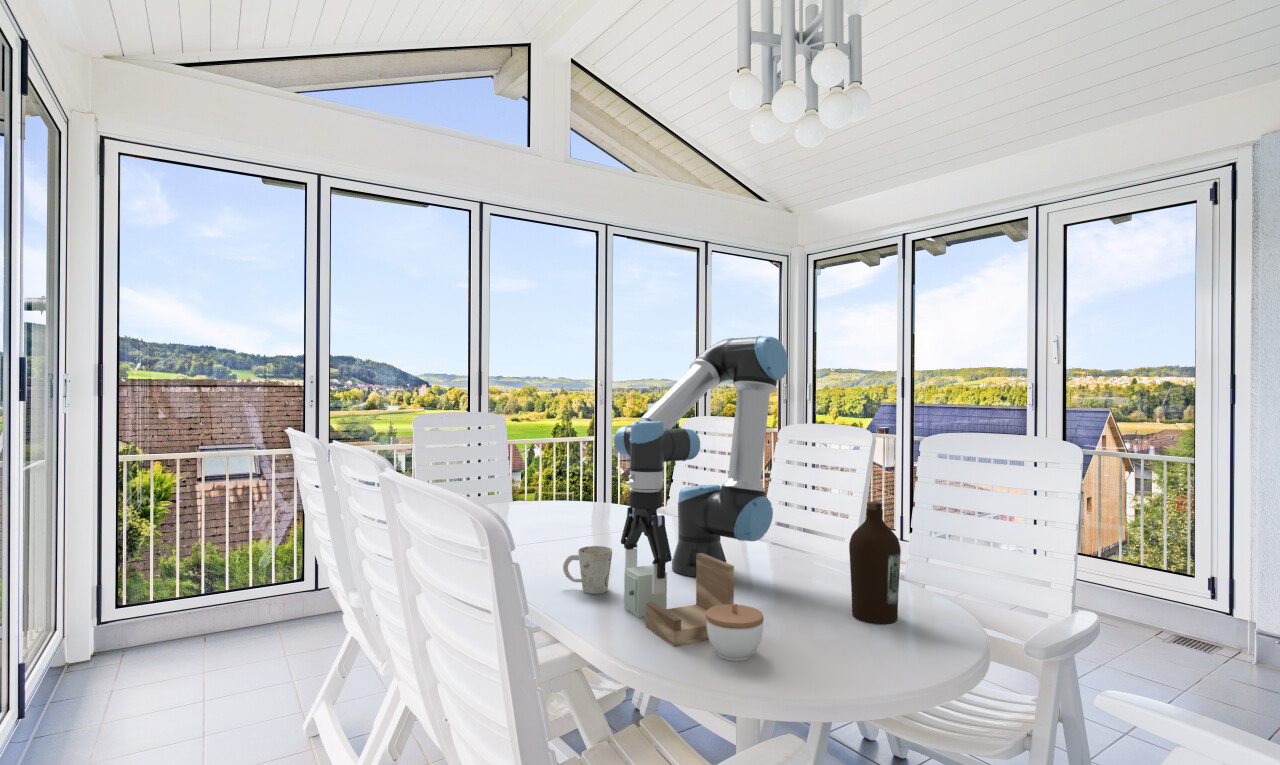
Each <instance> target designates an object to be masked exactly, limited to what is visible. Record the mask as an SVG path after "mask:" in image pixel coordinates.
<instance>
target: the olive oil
mask: <svg viewBox="0 0 1280 765" xmlns="http://www.w3.org/2000/svg"><path fill="white" fill-rule="evenodd" d="M866 506H867V507H866V519H865V521H863V523H861V525H860V526H858V528H857V529H856V530H854V531H853V532H852V534H851V536H850V539H849V543H848V544H849V546H848V549H849V551H848V552H849V567H850V571H849V572H850V590H851V591H850V592H851V615H852V617H854V619H856V620H857V621H861V622H863V623H866V624H875V625H891V624H894V623H896V622H897V621H898V618H899V617H898V615H899V612H898V611H899V610H898V609H899V592H900V591H899V590H900V589H899V588H900V572H901V571H900V570H901V568H900V566H901V554H902V552H901V545H900V541H899V539H898V536H897V535H896V534H895V533H894V531H893V530H892V529H891V528H890V527H889V526H888V525H887V524H886V522H884V520H883V519H884V518H883V516H884V514H883V513H884V511H883V510H884V509H883V503H882V502H878V501H868V502H867V503H866Z"/></svg>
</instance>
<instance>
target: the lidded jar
mask: <svg viewBox="0 0 1280 765" xmlns="http://www.w3.org/2000/svg"><path fill="white" fill-rule="evenodd" d="M763 627H764V614H763V612H762V611H760V609H757V608H755V607H752V606H750V605H749V606H748V605H742V604H737V603H734V604H724V605H717V606H713V607H711V608H709V609H708V610H707V611H706V628H707V635H708V639H709V640H708V642H709V644H710V646H711V647H712V649H713V650H714V651H715V652H716V653H717V656H718V657H719V658H721V659H722V660H726V661H732V662H742V661H746V660H748V659H750V658H751V656H752V655H753V654H754V653H755V652H756V651H757V650H758V648H759V647H760V644H761V641H762V637H763Z"/></svg>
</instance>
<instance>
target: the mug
mask: <svg viewBox="0 0 1280 765" xmlns="http://www.w3.org/2000/svg"><path fill="white" fill-rule="evenodd" d="M577 553H578V554H572V555H569V556H567V557H566V559H565V560H564V562H563V565H562V570H563V573H564V575H565V577H566V578H567V579H568V580H569V581H571V582H573V583H581V585H582V586H581V588H582V591H583V592H584V593H585V594H589V595H590V594H591V595H601V594H603V593H607V592H608V587H609V582H610V580H609V579H610V572H611V564H612V558H613V557H612V556H613V549H612V548H611V547H608V546H603V545H592V546H591V545H590V546H583V547H581V548H579V549H578V552H577ZM572 561H579V569H580V578H575V577H574V576H572V575H571V573H570V571H569V564H570V563H572Z"/></svg>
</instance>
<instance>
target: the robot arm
mask: <svg viewBox="0 0 1280 765" xmlns="http://www.w3.org/2000/svg"><path fill="white" fill-rule="evenodd" d="M788 361H789V360H788V355H787V351H786V349H785V346H784V345H783V343H782V342H781V341H780V340H779V339H778V338H776V337H774V336H763V335H757V336H751V337H750V336H748V337H736V338H734V337H732V338H726V339H722V340H721V341H718V342H716V343H715V344H712V345H711V346H710V347H708V348H706V349H705V350H704V351H703V352H701V353H700V354H699V355H698V356H697V357H696V358H695V359H694V360H693V361H692V362H691V363H689V364H690V365H689V370H688V371H687V372H686V373H685V374H684V375H682V376H681V378H680V379H679V380H678V381H677V382H675V384H673V385H672V386H671V387H670V389H668V390H667V391H666V393H665V394H663V395H662V397H661V398H660V399H659V400H657V401H656V403H654V405H652V407H650V408H649V409H648V410H647V411H646V412H645V413H644V414H643V416H641V417H640V419H638V420H635V421H633V422H632V423H631V425H625V426H620V428H618V429H617V430H616V432H615V435H614V439H613V443H614V447H615V450H616V451H617V452H618V453H619V454H620V455H622V456H625V457H629V475H628V479H629V488H630V490H629V492H628V506H629V507H627V510H626V511H627V512H626V519H625V522H624V526H623V530H622V534H621V539H620V544H621V545H623V548H624V549H625V552H624V553H625V557H624V565H625V566H624V569H625V568H633V567H638V542H639V541H640V538H641V536H642V534H644V536H646V537H647V541H648V544H649V548H650V550H651V553H652V556H653V560H652V562H651V564H652V565H653V574H652V593H653V594H658V593H665V572H666V564H667V563H669V562H671V570H672V571H673V572H675V573H676V574H679V575H684V576H688V577H696V554H697V553H704V554H706V555H709V556H711V557H714V558H716V559H719V560H721V561H723V562H726V563H728V562H727V558H726V555H725V552H724V549H723V545H722V543H721V541H722V540H721V537H724V538H729V539H734V540H738V541H740V542H741V541H743V542H744V541H745V542H756V541H759V540H761V539H763V537H765V535H766V534H767V533H768V530H770V527H771V525H772V522H773V517H774V516H773V515H774V510H773V509H774V508H773V507H772V506H773V505H772V502H771V500H770V499H769V498H767V497H766V491H767V490H766V489H765V488H764V486H763V485H762V483H761V482H762V481H761V480H762V473H763V462H764V453H765V443H766V435H767V424H768V415H769V407H770V397H771V396H770V395H771V393H773V392H774V391H775V390H776V389H777V384H778V381H781V380H782V379H783V378H784V377H786V376H785V375H786V374H787V372H788V369H789V368H788V367H789V362H788ZM726 381H732V385H733V386H734V387H735V389H736V390H737V393H736V394H737V395H736V403H735V414H734V420H733V430H732V440H731V448H730V449H731V450H730V457H729V466H728V475H727V479H726V480H725V481H724V482H723V483H721V485H719V484H705V485H704V484H703V485H694V486H685V487H683V488H681V489H680V490H679V491H678V500H677V518H678V520H677V524H678V526H677V527H678V530H677V531H678V532H677V533H678V537H677V538H678V540H677V543H676V548H675V551H674V554H673V557H672V552H671V549H670V544H669V543H670V542H669V539H668V534H667V530H666V529H667V528H666V518H665V515H658V511H657V510H658V509H661V508H662V507H663V492H662V490H661V489H663V488H664V487H663V484H664V463H665V462H678V461H679V462H681V461H682V462H686V461H688V460H689V461H690V460H693V459H695V458H697V456H698V455H699V452H700V451H701V440H700V437H699V435H698V433H697V432H695V430H693V429H690V428H673V427H675V426H676V424H677V423H679V421H681V419H682V418H683V417H684V416H685V415H686V414H687V413H688V412H689V411H690V409H692V408H693V406H694V405H695V404H696V403H697V402H699V400H700V399H701V398H702V397H703V396H704V395H705V394H706V393H708V391H709V390H713V389H715V388H717V387H718V386H719V385H720V384H721V383H723V382H726Z"/></svg>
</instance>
